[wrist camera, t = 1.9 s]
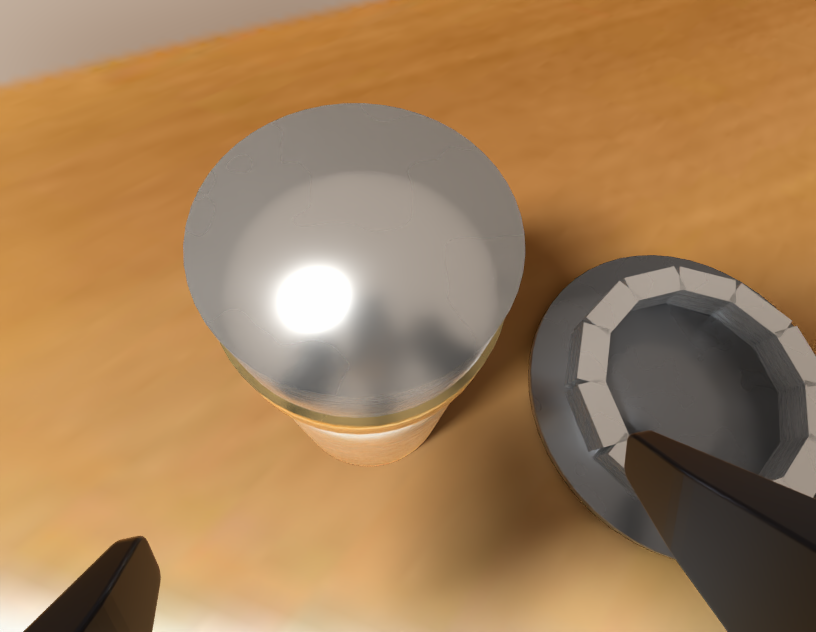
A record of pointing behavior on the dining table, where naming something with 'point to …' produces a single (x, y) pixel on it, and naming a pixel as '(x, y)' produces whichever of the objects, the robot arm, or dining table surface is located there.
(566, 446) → the collar
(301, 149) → the cylinder
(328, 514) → the dining table surface
